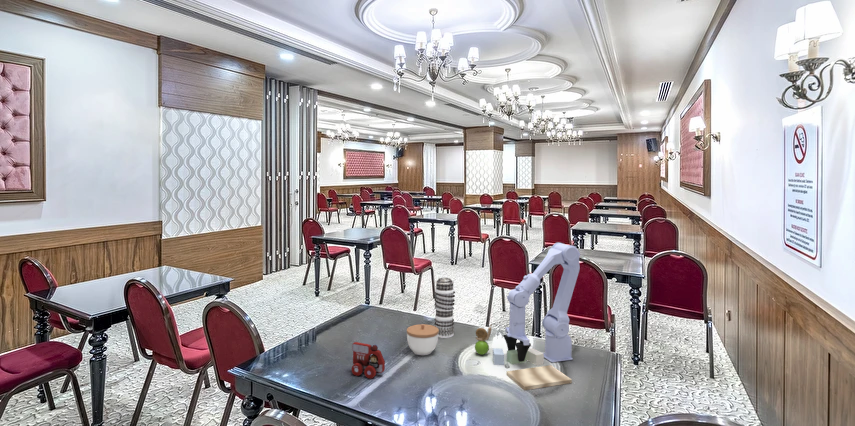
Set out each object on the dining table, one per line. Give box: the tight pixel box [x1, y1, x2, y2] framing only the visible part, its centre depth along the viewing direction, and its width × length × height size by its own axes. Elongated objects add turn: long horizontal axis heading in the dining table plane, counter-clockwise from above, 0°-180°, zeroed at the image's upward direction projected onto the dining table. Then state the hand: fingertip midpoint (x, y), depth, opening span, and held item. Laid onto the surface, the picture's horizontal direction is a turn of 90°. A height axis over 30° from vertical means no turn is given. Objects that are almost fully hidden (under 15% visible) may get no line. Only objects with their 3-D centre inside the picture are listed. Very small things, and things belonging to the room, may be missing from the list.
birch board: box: [505, 364, 573, 391], centre depth 146 cm, size 18×12×1 cm, turn 108°
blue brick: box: [492, 348, 505, 366], centre depth 161 cm, size 6×4×4 cm, turn 177°
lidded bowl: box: [406, 323, 439, 356], centre depth 169 cm, size 13×13×11 cm
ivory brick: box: [526, 347, 545, 367], centre depth 161 cm, size 6×4×4 cm, turn 28°
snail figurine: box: [474, 324, 493, 356], centre depth 167 cm, size 5×6×12 cm
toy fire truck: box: [350, 341, 386, 380], centre depth 149 cm, size 7×12×10 cm, turn 68°
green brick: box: [506, 349, 527, 365], centre depth 161 cm, size 6×4×4 cm, turn 108°
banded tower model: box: [433, 277, 456, 339], centre depth 188 cm, size 9×9×25 cm
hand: (516, 357), depth 161 cm, fingers open, 7 cm apart
